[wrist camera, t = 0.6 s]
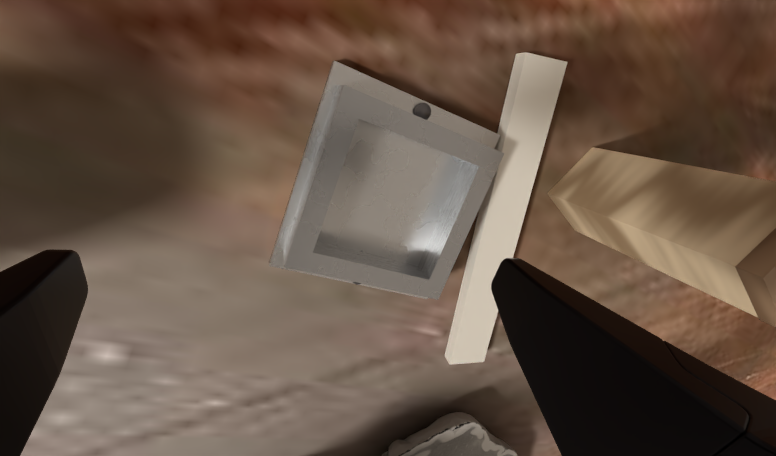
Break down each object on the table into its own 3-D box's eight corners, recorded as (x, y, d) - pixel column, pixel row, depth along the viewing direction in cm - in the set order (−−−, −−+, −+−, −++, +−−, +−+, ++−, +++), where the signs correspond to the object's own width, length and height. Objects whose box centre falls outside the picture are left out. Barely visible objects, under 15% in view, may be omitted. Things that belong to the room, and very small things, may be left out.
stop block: (574, 231, 28) (785, 332, 17) (546, 193, 26) (763, 277, 15) (618, 187, 28) (862, 259, 16) (592, 146, 26) (851, 194, 14)
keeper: (424, 294, 26) (438, 315, 24) (269, 261, 22) (268, 281, 20) (495, 134, 23) (519, 139, 21) (332, 61, 19) (340, 57, 17)
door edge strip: (477, 353, 30) (483, 361, 29) (444, 356, 29) (450, 364, 28) (556, 62, 23) (567, 61, 22) (516, 53, 22) (526, 52, 21)
